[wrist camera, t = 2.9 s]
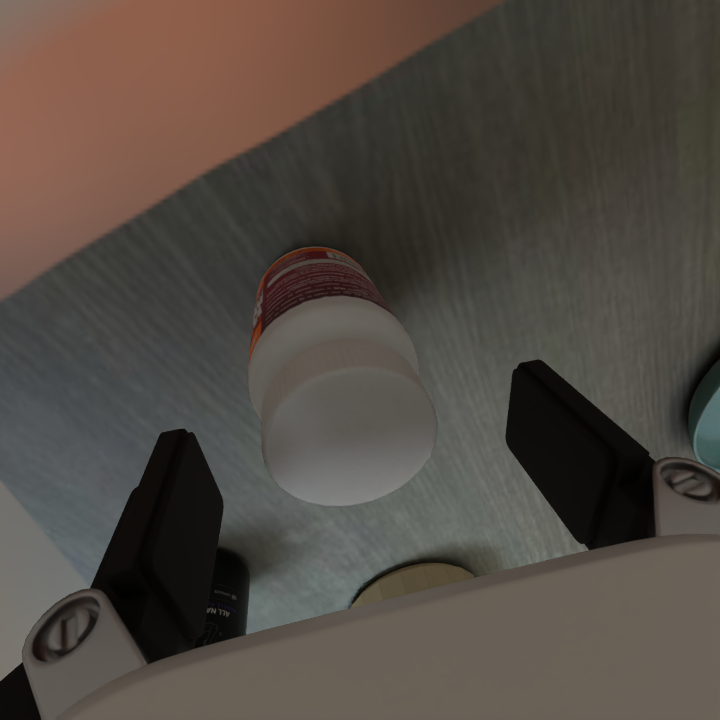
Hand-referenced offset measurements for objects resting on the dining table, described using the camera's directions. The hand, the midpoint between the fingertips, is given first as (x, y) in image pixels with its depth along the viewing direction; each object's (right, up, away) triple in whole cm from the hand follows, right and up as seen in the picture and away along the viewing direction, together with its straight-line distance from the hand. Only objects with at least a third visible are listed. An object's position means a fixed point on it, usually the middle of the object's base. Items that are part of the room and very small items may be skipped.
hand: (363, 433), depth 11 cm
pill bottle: (-3, +5, +9) cm, 11 cm away
